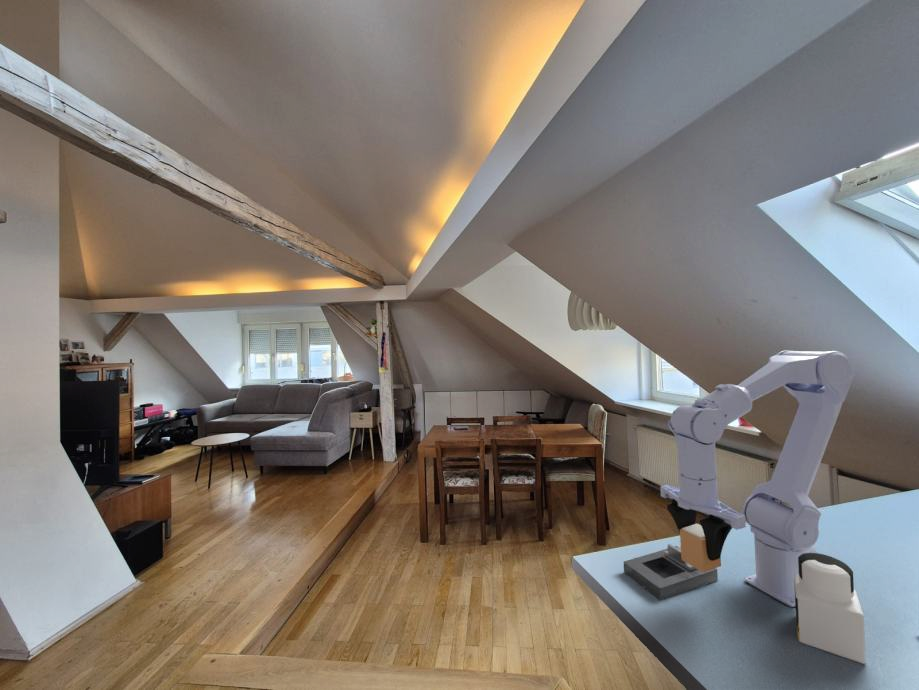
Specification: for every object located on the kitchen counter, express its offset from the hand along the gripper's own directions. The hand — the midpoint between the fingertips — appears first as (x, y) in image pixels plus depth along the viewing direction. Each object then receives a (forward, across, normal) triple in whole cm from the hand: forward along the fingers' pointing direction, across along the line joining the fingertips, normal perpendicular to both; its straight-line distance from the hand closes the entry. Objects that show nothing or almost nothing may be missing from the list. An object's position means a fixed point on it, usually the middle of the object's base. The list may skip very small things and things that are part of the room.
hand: (701, 551), depth 67 cm
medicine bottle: (+9, +13, +9) cm, 18 cm away
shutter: (+7, -8, +6) cm, 11 cm away
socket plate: (+9, -8, +1) cm, 12 cm away
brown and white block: (+2, 0, 0) cm, 2 cm away
